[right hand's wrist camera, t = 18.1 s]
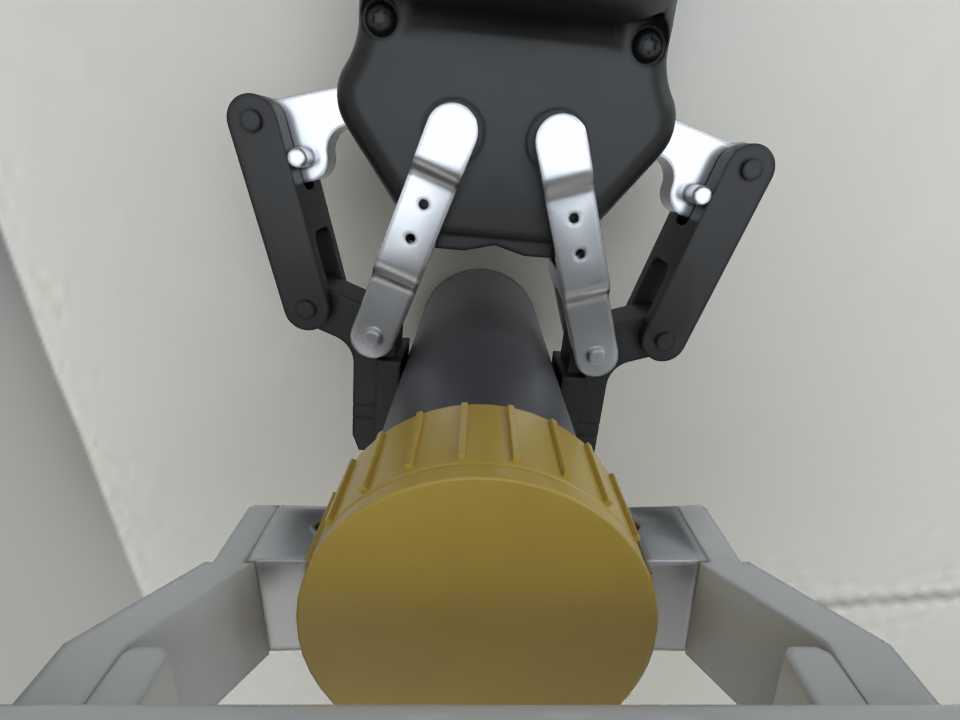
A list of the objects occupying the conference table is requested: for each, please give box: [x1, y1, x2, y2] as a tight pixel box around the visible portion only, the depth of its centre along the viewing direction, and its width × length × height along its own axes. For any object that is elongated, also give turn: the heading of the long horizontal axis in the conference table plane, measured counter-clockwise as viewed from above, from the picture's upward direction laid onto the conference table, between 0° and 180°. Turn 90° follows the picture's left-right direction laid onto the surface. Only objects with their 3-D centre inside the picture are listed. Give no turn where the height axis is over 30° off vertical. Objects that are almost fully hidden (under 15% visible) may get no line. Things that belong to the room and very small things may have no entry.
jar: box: [383, 269, 576, 437], centre depth 16 cm, size 5×5×15 cm
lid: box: [296, 402, 658, 705], centre depth 10 cm, size 6×6×2 cm
